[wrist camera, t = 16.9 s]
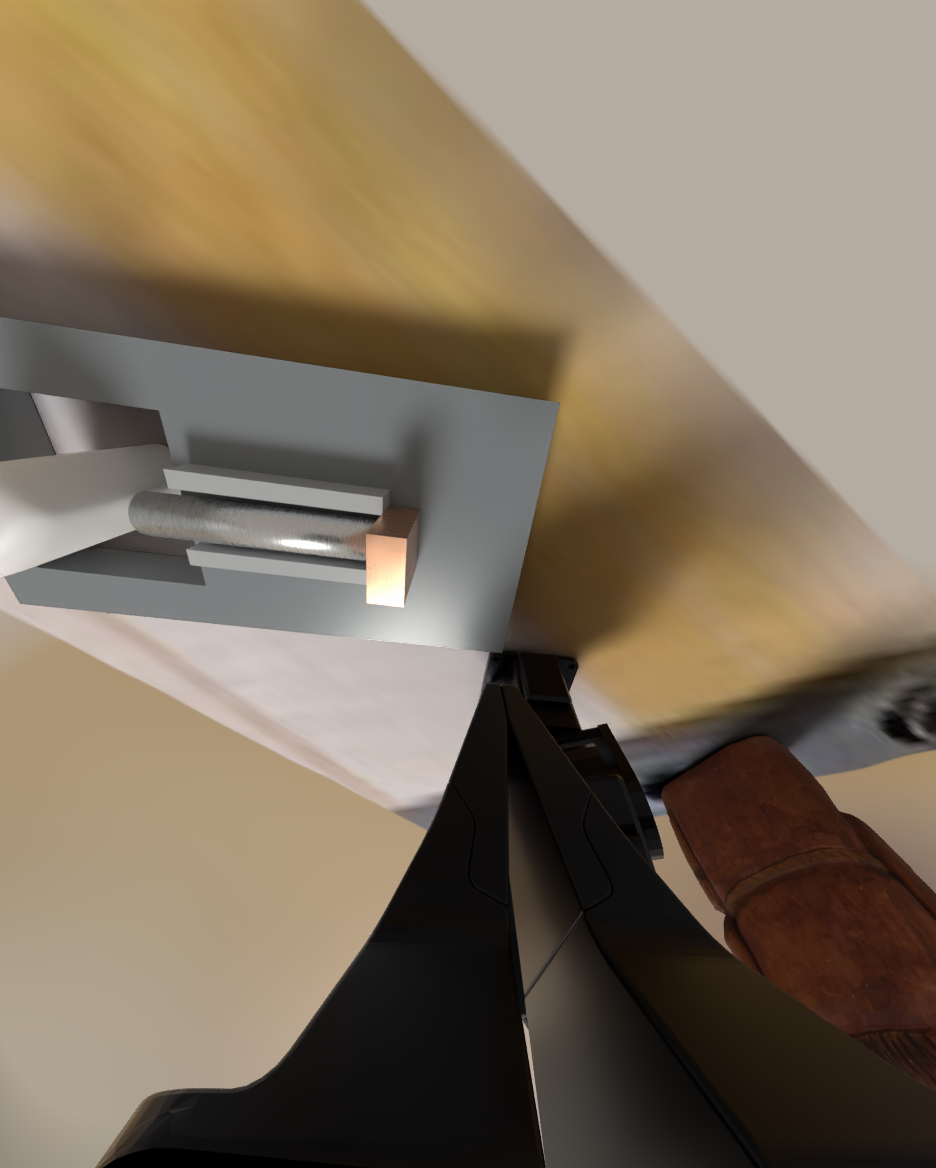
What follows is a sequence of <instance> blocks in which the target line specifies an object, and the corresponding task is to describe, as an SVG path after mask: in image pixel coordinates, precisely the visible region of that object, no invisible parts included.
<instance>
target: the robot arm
mask: <svg viewBox="0 0 936 1168" xmlns="http://www.w3.org/2000/svg"><path fill="white" fill-rule="evenodd" d="M495 656H498V658H494V657H495ZM570 664H572V665H570ZM578 666H579V665H578V663H577V660H576V659H575V658H572V657H563V656H553V655H543V654H533V653H524V652H514V651H504V650H503V652H502V653H496V652H490V653H489V657H488V662H487V666H486V671H485V676H484V681H483V686H482V691H481V695H480V700H479V702H478V705H477V708H476V710H475V713H474V716H473V718H472V721H471V724H470V726H469V729H468V731H467V734H466V737H465V739H464V742H463V745H462V747H461V750H460V753H459V755H458V758H457V761H456V763H455V766H454V769H453V771H452V774H451V776H450V779H449V783H448V784H447V787H446V789H445V792H444V795H443V797H442V800H441V802H440V804H439V807H438V809H437V812H436V814H435V816H434V819H433V821H432V823H431V825H430V827H429V829H428V831H427V833H426V835H425V837H424V839H423V841H422V843H421V845H420V847H419V849H418V851H417V852H416V854H415V856H414V858H413V860H412V862H411V864H410V866H409V867H408V869H407V871H406V873H405V875H404V877H403V879H402V880H401V882H400V884H399V886H398V888H397V890H396V891H395V893H394V895H393V897H392V899H391V901H390V903H389V904H388V906H387V908H386V910H385V912H384V914H383V915H382V917H381V919H380V920H379V922H378V924H377V926H376V927H375V929H374V931H373V932H372V934H371V935H370V937H369V938H368V940H367V942H366V943H365V945H364V946H363V948H362V949H361V951H360V952H359V953H358V955H357V956H356V957H355V959H354V960H353V962H352V963H351V965H350V966H349V967H348V969H347V970H346V971H345V973H344V974H343V976H342V977H341V979H340V980H339V981H338V983H337V984H336V986H335V987H334V988H333V990H332V991H331V993H330V994H329V995H328V997H327V998H326V1000H325V1001H324V1002H323V1004H322V1005H321V1007H320V1008H319V1009H318V1011H317V1012H316V1014H315V1015H314V1016H313V1018H312V1019H311V1021H310V1022H309V1024H308V1025H307V1026H306V1028H305V1029H304V1031H303V1032H302V1033H301V1035H300V1036H299V1037H298V1039H297V1040H296V1042H295V1043H294V1044H293V1046H292V1047H291V1049H290V1050H289V1051H288V1052H287V1054H286V1055H285V1056H284V1057H283V1058H282V1060H281V1061H280V1062H279V1063H278V1064H277V1065H276V1066H275V1067H274V1068H273V1069H271V1070H270V1071H269V1072H268V1073H267V1074H265V1075H264V1076H263V1077H262V1078H260V1079H258V1080H256V1081H254V1082H252V1083H250V1084H249V1085H247V1086H243V1087H238V1088H233V1089H220V1088H217V1089H216V1088H187V1089H175V1090H167V1091H163V1092H158V1093H155V1094H153V1095H151V1096H149V1097H147V1098H146V1099H145V1100H143V1101H142V1103H141V1104H140V1105H139V1106H138V1108H137V1109H136V1111H135V1112H134V1114H133V1115H132V1116H131V1118H130V1119H129V1120H128V1122H127V1123H126V1125H125V1126H124V1128H123V1129H122V1130H121V1132H120V1133H119V1135H118V1136H117V1138H116V1139H115V1140H114V1142H113V1143H112V1145H111V1146H110V1147H109V1149H108V1150H107V1152H106V1153H105V1154H104V1156H103V1157H102V1159H101V1160H100V1162H99V1163H98V1164H97V1166H96V1167H95V1168H936V1090H934V1089H932V1088H930V1087H928V1086H926V1085H924V1084H923V1083H921V1082H919V1081H917V1080H915V1079H913V1078H911V1077H910V1076H908V1075H907V1074H905V1073H904V1072H902V1071H900V1070H899V1069H897V1068H896V1067H894V1066H893V1065H891V1064H890V1063H888V1062H886V1061H885V1060H884V1059H882V1058H881V1057H879V1056H878V1055H876V1054H875V1053H873V1052H872V1051H870V1050H869V1049H868V1048H866V1047H865V1046H863V1045H862V1044H860V1043H859V1042H857V1041H856V1040H855V1039H853V1038H852V1037H850V1036H849V1035H847V1034H846V1033H844V1032H843V1031H841V1030H840V1029H839V1028H837V1027H836V1026H834V1025H833V1024H831V1023H830V1022H828V1021H827V1020H826V1019H824V1018H823V1017H821V1016H820V1015H818V1014H817V1013H815V1012H814V1011H812V1010H811V1009H810V1008H808V1007H807V1006H805V1005H804V1004H802V1003H801V1002H799V1001H798V1000H797V999H795V998H794V997H792V996H791V995H789V994H788V993H786V992H785V991H783V990H782V989H781V988H779V987H778V986H776V985H775V984H773V983H772V982H770V981H769V980H768V979H766V978H765V977H763V976H762V975H760V974H759V973H757V972H756V971H754V970H753V969H752V968H750V967H749V966H747V965H746V964H744V963H743V962H742V961H740V960H739V959H737V958H736V957H735V956H734V955H733V954H731V953H730V952H729V951H728V950H726V949H725V948H724V947H723V946H722V945H721V944H720V943H719V942H718V941H716V940H715V939H714V938H713V937H712V936H711V935H710V934H709V933H708V932H707V931H706V930H705V929H704V927H703V926H702V925H701V924H700V923H699V922H698V921H697V920H696V919H695V917H694V916H693V915H692V914H691V913H690V912H689V910H688V909H687V908H686V907H685V906H684V905H683V903H682V902H681V901H680V900H679V899H678V898H677V897H676V895H675V894H674V893H673V892H672V891H671V889H670V888H669V887H668V886H667V885H666V883H665V882H664V881H663V880H662V879H661V878H660V876H659V875H658V874H657V873H656V872H655V868H654V865H653V862H652V860H656V859H663V858H664V853H663V847H662V843H661V840H660V836H659V832H658V829H657V826H656V823H655V821H654V817H653V814H652V812H651V809H650V807H649V804H648V801H647V799H646V797H645V794H644V792H643V790H642V787H641V785H640V783H639V781H638V779H637V777H636V775H635V773H634V771H633V770H632V768H631V766H630V764H629V762H628V761H627V759H626V757H625V755H624V753H623V752H622V750H621V748H620V746H619V744H618V743H617V741H616V739H615V737H614V736H613V734H612V732H611V730H610V728H609V727H608V725H607V723H606V724H601V725H597V727H595V728H590V729H585V730H582V729H581V727H580V724H579V721H578V718H577V715H576V713H575V710H574V707H573V704H572V699H571V696H570V694H569V691H570V688H571V685H572V683H573V680H574V677H575V675H576V672H577V669H578ZM522 1020H523V1022H524V1023H525V1025H526V1026H527V1028H528V1030H529V1035H530V1044H531V1052H532V1060H533V1067H534V1075H535V1084H536V1092H537V1100H538V1107H539V1114H540V1123H541V1131H542V1139H543V1147H544V1153H543V1147H542V1141H541V1135H540V1129H539V1122H538V1116H537V1110H536V1103H535V1098H534V1091H533V1084H532V1078H531V1072H530V1066H529V1059H528V1054H527V1047H526V1041H525V1034H524V1028H523V1022H522ZM544 1155H545V1160H544ZM545 1163H546V1166H545Z"/></svg>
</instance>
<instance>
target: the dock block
mask: <svg viewBox="0 0 936 1168" xmlns="http://www.w3.org/2000/svg"><path fill="white" fill-rule="evenodd" d="M29 392H31V393H39V394H46V395H53V396H60V397H67V398H74V399H81V400H88V401H95V402H102V403H110V404H117V405H124V406H131V407H138V408H145V409H152V410H159V414H160V417H161V421H162V425H163V428H164V432H165V436H166V439H167V443H168V447H169V451H170V454H171V458H172V462H173V465H174V467H170V468H165V469H163V471H164V475H165V478H166V482H167V485H168V488H169V489H177V490H180V491H181V495H186V496H194V497H202V498H210V499H218V500H226V501H234V502H242V503H250V504H258V505H266V506H274V507H282V508H290V509H297V510H305V511H313V512H321V513H329V514H337V515H345V516H353V517H361V518H369V519H377V520H378V518H379V517H380V516H381V515H382V513H383V512H384V511H385V510H386V508H387V507H388V506H395V507H403V508H411V509H418V510H420V521H419V540H418V552H417V567H416V570H415V573H414V576H413V579H412V582H411V585H410V588H409V592H408V595H407V598H406V601H405V604H404V607H398V606H389V605H380V604H370V603H367V577H366V561H360V560H352V559H343V558H335V557H326V556H318V555H309V554H301V553H292V552H284V551H275V550H267V549H258V548H250V547H241V546H233V545H224V544H216V543H207V542H199V541H194V543H195V545H194V546H192V547H190V548H188V549H186V551H187V555H188V557H181V556H172V555H164V554H155V553H146V552H137V551H129V550H120V549H111V548H102V547H94V545H93V546H90V547H87V548H85V549H82V550H79V551H77V552H74V553H71V554H68V555H66V556H63V557H60V558H57V559H55V560H52V561H49V562H46V563H43V564H41V565H38V566H35V567H32V568H30V569H27V570H24V571H21V572H18V573H15V574H11V575H8V576H4V577H5V579H6V581H7V582H8V584H9V586H10V587H11V589H12V591H13V592H14V594H15V596H16V598H17V599H18V601H19V603H20V604H27V605H37V606H47V607H56V608H66V609H76V610H86V611H96V612H105V613H115V614H125V615H135V616H144V617H154V618H164V619H174V620H183V621H193V622H203V623H213V624H222V625H232V626H242V627H252V628H261V629H271V630H281V631H291V632H300V633H310V634H320V635H330V636H339V637H349V638H359V639H369V640H378V641H388V642H398V643H408V644H418V645H427V646H437V647H447V648H457V649H466V650H476V651H486V652H496V653H502V652H503V648H504V644H505V639H506V635H507V631H508V626H509V622H510V618H511V613H512V609H513V604H514V600H515V596H516V591H517V587H518V583H519V578H520V574H521V570H522V565H523V561H524V557H525V552H526V548H527V544H528V539H529V535H530V531H531V526H532V522H533V518H534V513H535V509H536V504H537V500H538V496H539V491H540V487H541V483H542V478H543V474H544V470H545V465H546V461H547V457H548V452H549V448H550V444H551V439H552V435H553V431H554V426H555V422H556V418H557V413H558V409H559V404H560V403H558V402H551V401H545V400H538V399H532V398H525V397H519V396H512V395H506V394H499V393H493V392H486V391H480V390H473V389H467V388H460V387H454V386H447V385H441V384H434V383H428V382H421V381H415V380H408V379H402V378H395V377H389V376H382V375H376V374H369V373H363V372H356V371H350V370H343V369H336V368H330V367H323V366H317V365H310V364H304V363H297V362H291V361H284V360H278V359H271V358H265V357H258V356H252V355H245V354H239V353H232V352H226V351H219V350H213V349H206V348H200V347H193V346H187V345H180V344H174V343H167V342H161V341H154V340H148V339H141V338H135V337H128V336H122V335H115V334H109V333H102V332H96V331H89V330H83V329H76V328H69V327H63V326H56V325H50V324H43V323H37V322H30V321H24V320H17V319H11V318H4V317H0V462H3V461H11V460H18V459H26V458H34V457H43V456H52V455H55V452H54V450H53V448H52V445H51V443H50V441H49V438H48V436H47V434H46V431H45V429H44V426H43V424H42V422H41V419H40V417H39V415H38V412H37V410H36V408H35V405H34V403H33V400H32V398H31V396H30V393H29Z"/></svg>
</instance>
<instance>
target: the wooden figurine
mask: <svg viewBox="0 0 936 1168" xmlns="http://www.w3.org/2000/svg"><path fill="white" fill-rule="evenodd" d="M661 795H662V799H663V802H664V805H665V808H666V810H667V814H668V816H669V818H670V823H671V825H672V828H673V830H674V832H675V835H676V837H677V840H678V842H679V844H680V847H681V849H682V851H683V853H684V855H685V857H686V859H687V861H688V863H689V865H690V867H691V869H692V870H693V872H694V874H695V876H696V878H697V880H698V881H699V883H700V885H701V887H702V889H703V890H704V892H705V893H706V895H707V897H708V898H709V900H710V902H711V903H712V905H713V906H714V908H715V909H716V910H718V911H720V912H722V913H724V914H725V915H726V916H725V919H724V939H725V942H726V944H727V945H728V947H729V948H730V950H731V952H732V953H733V955H734V956H735V957H736V958H737V959H739V960H740V961H742V962H743V963H744V964H746V965H747V966H749V967H750V968H752V969H753V970H754V971H756V972H757V973H759V974H760V975H762V976H763V977H765V978H766V979H768V980H769V981H770V982H772V983H773V984H775V985H776V986H778V987H779V988H781V989H782V990H783V991H785V992H786V993H788V994H789V995H791V996H792V997H794V998H795V999H797V1000H798V1001H799V1002H801V1003H802V1004H804V1005H805V1006H807V1007H808V1008H810V1009H811V1010H812V1011H814V1012H815V1013H817V1014H818V1015H820V1016H821V1017H823V1018H824V1019H826V1020H827V1021H828V1022H830V1023H831V1024H833V1025H834V1026H836V1027H837V1028H839V1029H840V1030H841V1031H843V1032H844V1033H846V1034H847V1035H849V1036H850V1037H852V1038H853V1039H855V1040H856V1041H857V1042H859V1043H860V1044H862V1045H863V1046H865V1047H866V1048H868V1049H869V1050H870V1051H872V1052H873V1053H875V1054H876V1055H878V1056H879V1057H881V1058H882V1059H884V1060H885V1061H886V1062H888V1063H890V1064H891V1065H893V1066H894V1067H896V1068H897V1069H899V1070H900V1071H902V1072H904V1073H905V1074H907V1075H908V1076H910V1077H911V1078H913V1079H915V1080H917V1081H919V1082H921V1083H923V1084H924V1085H926V1086H928V1087H930V1088H932V1089H934V1090H936V894H935V893H934V891H933V890H932V889H931V888H930V887H929V886H928V885H927V884H926V883H925V882H924V881H923V880H921V878H920V877H918V876H917V875H916V874H915V873H914V871H913V870H912V869H911V867H910V866H909V865H908V864H907V863H906V862H905V861H904V860H903V859H902V858H901V857H900V856H899V855H898V854H897V853H895V852H894V850H893V849H891V847H890V846H889V845H887V843H886V842H885V841H884V840H883V839H882V838H881V837H880V836H879V835H878V834H876V833H875V832H874V831H873V830H872V829H871V828H870V827H869V826H868V825H866V824H865V823H864V822H863V821H861V820H860V819H858V818H856V817H855V816H853V815H850V814H847V813H843V812H840V811H839V810H838V809H837V808H836V806H835V805H834V804H833V802H832V801H831V799H830V797H829V796H828V794H827V793H826V791H825V790H824V788H823V787H822V786H821V785H820V784H819V783H818V781H817V780H816V779H815V778H814V777H813V775H812V774H811V773H810V772H809V771H808V770H807V769H806V768H805V767H804V766H803V765H802V764H801V763H800V762H799V761H798V759H796V758H795V756H794V755H793V754H792V753H791V752H790V751H789V750H788V749H787V748H786V747H784V746H783V745H782V744H780V743H779V742H778V741H776V740H774V739H772V738H771V737H769V736H755V737H750V738H747V739H745V740H742V741H740V742H737V743H733V744H730V745H728V746H726V747H724V748H723V749H721V750H719V751H718V752H717V753H715V754H713V755H712V756H710V757H709V758H708V759H706V760H705V761H703V762H701V763H700V764H698V765H697V766H696V767H694V768H692V769H691V770H689V771H687V772H685V773H684V774H682V775H680V776H679V777H678V778H676V779H674V780H672V781H671V782H669V783H667V784H666V785H664V786H663V789H662V793H661Z"/></svg>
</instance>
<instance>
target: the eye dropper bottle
mask: <svg viewBox="0 0 936 1168" xmlns="http://www.w3.org/2000/svg"><path fill="white" fill-rule="evenodd" d="M170 467H174V465H173V462H172V458H171V454H170V451H169V448H168V447H166V446H164V445H160V444H148V445H139V446H130V447H121V448H113V449H104V450H95V451H86V452H77V453H69V454H60V455H52V456H43V457H34V458H26V459H18V460H11V461H3V462H0V577H4V576H8V575H11V574H15V573H18V572H21V571H24V570H27V569H30V568H32V567H35V566H38V565H41V564H43V563H46V562H49V561H52V560H55V559H57V558H60V557H63V556H66V555H68V554H71V553H74V552H77V551H79V550H82V549H85V548H87V547H90V546H93V545H96V544H98V543H101V542H104V541H107V540H109V539H112V538H115V537H118V536H120V535H123V534H126V533H129V532H131V531H134V530H136V529H135V528H134V527H133V526H132V524H131V522H130V519H129V515H128V508H129V504H130V501H131V499H132V498H133V497H134V496H135V495H136V494H137V493H139V492H141V491H154V492H162V493H170V494H178V495H181V491H180V490H177V489H169V488H168V485H167V482H166V478H165V475H164V471H163V469H165V468H170Z"/></svg>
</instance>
